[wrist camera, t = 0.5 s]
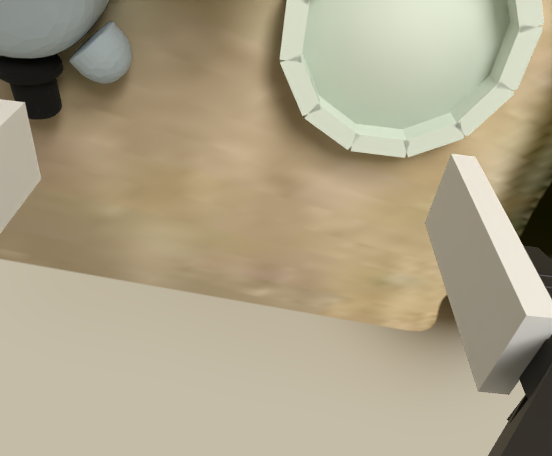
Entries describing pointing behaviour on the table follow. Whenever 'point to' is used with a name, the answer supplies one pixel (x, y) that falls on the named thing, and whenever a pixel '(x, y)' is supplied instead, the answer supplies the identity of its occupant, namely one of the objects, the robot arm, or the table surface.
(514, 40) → the round bowl
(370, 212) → the table surface
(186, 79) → the table surface
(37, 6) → the figurine
